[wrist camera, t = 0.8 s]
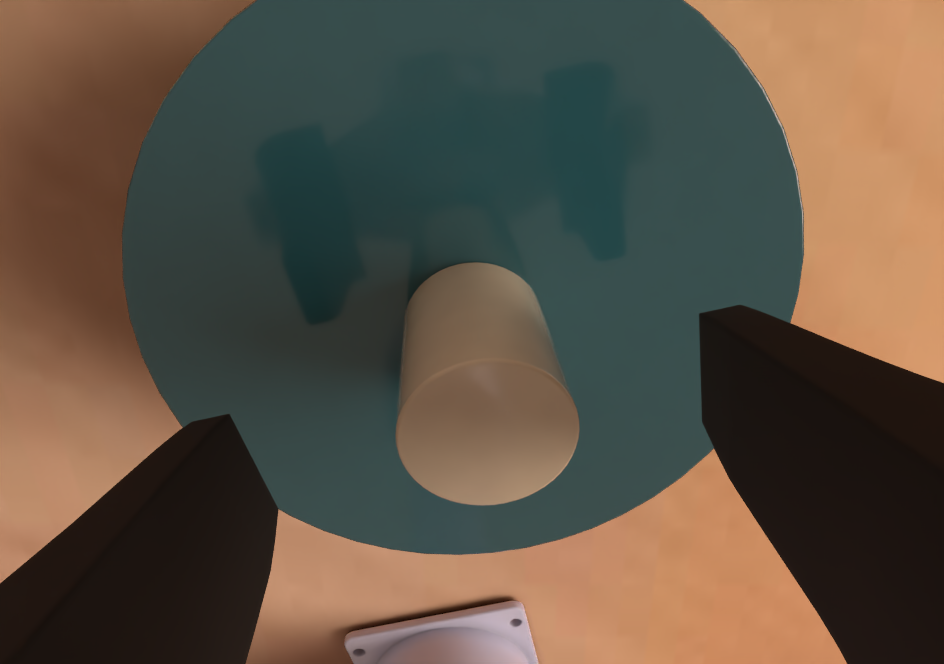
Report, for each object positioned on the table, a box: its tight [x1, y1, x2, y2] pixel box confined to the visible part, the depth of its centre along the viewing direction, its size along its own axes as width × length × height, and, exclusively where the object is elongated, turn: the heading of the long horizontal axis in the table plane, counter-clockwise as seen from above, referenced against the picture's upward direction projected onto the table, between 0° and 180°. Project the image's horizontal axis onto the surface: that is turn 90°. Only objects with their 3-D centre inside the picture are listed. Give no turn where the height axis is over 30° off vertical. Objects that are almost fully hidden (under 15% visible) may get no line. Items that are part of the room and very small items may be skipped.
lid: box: [122, 0, 804, 555], centre depth 11 cm, size 13×13×5 cm
